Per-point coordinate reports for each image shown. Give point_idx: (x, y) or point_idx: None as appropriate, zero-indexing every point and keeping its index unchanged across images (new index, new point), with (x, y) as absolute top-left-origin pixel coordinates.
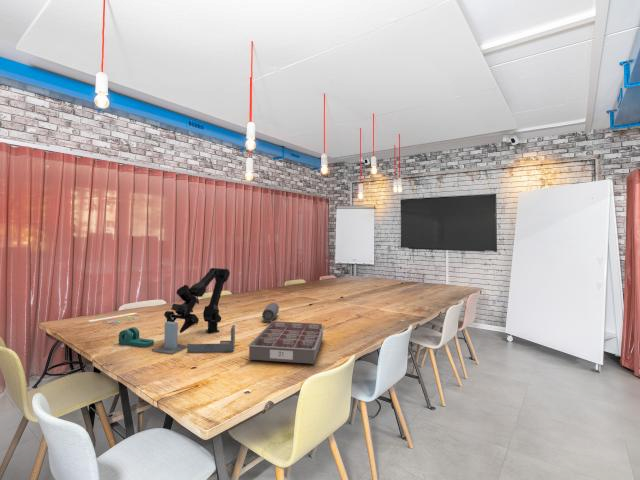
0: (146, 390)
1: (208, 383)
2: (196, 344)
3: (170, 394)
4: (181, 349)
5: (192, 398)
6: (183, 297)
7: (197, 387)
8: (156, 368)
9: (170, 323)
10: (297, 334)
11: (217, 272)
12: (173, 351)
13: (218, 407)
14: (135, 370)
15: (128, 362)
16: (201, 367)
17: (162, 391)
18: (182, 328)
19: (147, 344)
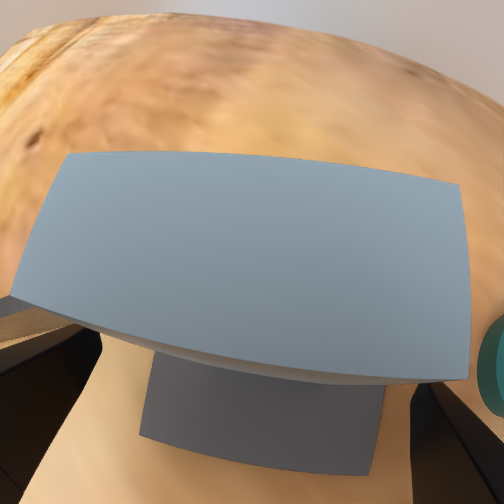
0: (137, 17)
1: (7, 94)
2: (7, 299)
3: (80, 34)
4: None
5: (40, 49)
6: None
7: (29, 72)
8: (174, 78)
9: (192, 154)
10: None
11: None
12: None
13: (8, 59)
14: (252, 48)
15: (361, 89)
16: (12, 152)
17: (99, 30)
18: (28, 340)
19: (500, 325)
